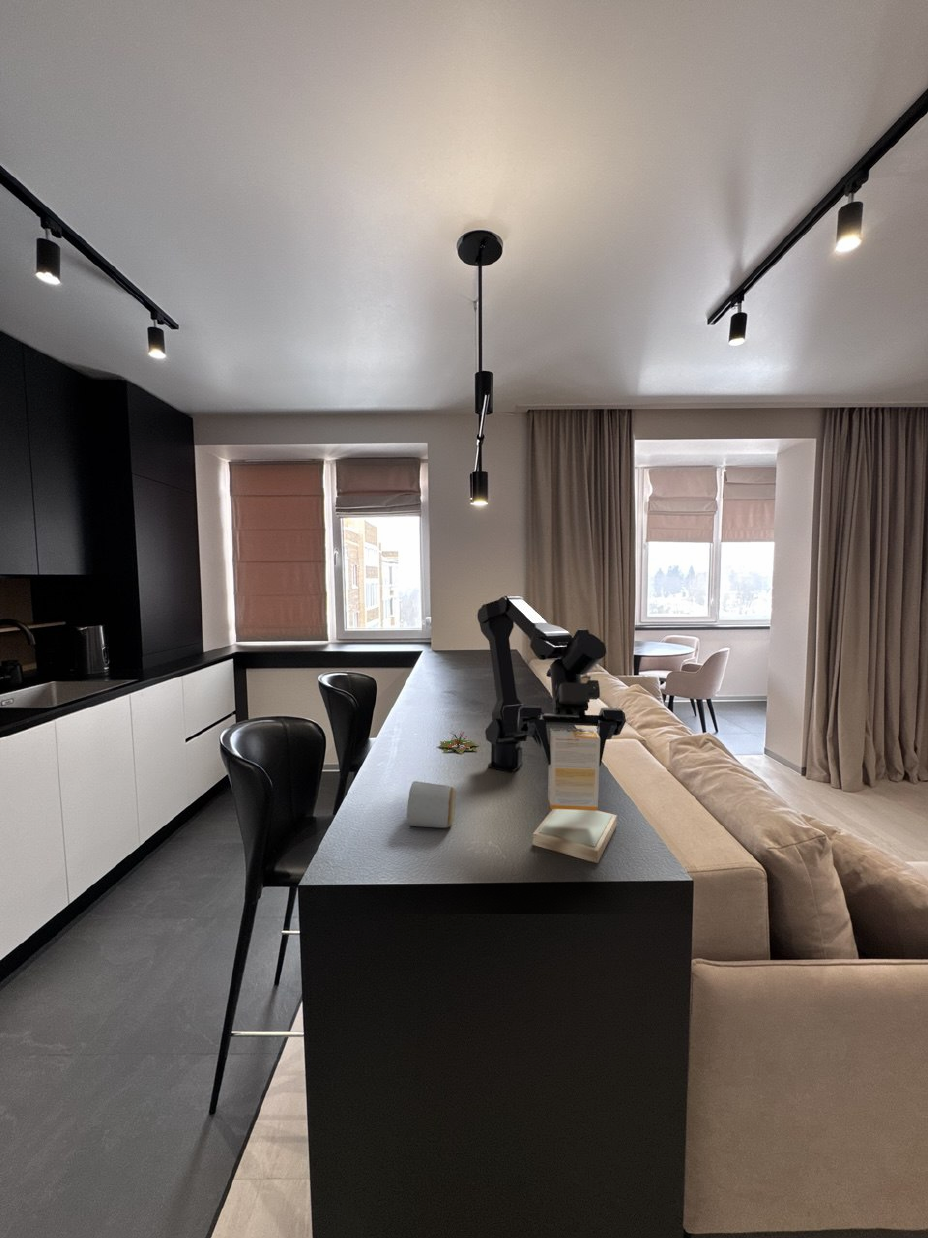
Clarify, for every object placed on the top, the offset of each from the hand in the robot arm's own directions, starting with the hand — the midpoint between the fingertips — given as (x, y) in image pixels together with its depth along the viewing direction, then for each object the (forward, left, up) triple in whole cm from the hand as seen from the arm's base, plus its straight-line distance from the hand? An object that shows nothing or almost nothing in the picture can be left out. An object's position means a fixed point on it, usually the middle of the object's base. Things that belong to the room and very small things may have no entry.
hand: (574, 765), depth 88 cm
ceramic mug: (-25, -7, -14) cm, 29 cm away
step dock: (0, +2, -13) cm, 13 cm away
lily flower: (-40, +31, -14) cm, 53 cm away
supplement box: (-1, +1, -8) cm, 8 cm away
